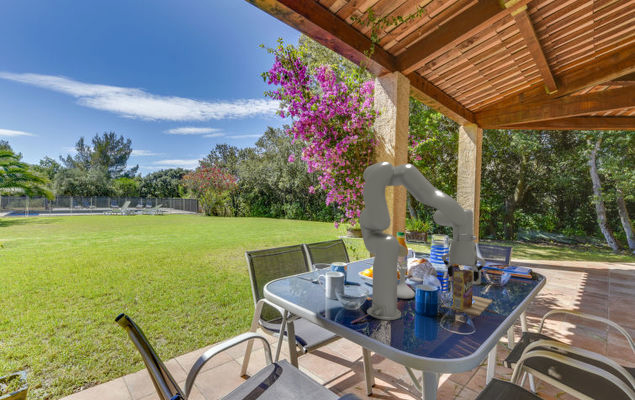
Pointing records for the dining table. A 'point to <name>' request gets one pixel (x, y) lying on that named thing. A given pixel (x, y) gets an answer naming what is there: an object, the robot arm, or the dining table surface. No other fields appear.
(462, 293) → the candy box
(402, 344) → the dining table surface
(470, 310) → the striped wooden board
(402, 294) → the flower in vase
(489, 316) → the dining table surface
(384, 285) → the robot arm
